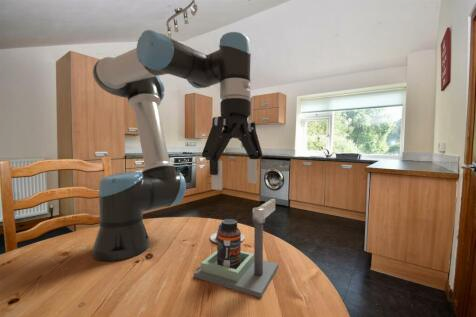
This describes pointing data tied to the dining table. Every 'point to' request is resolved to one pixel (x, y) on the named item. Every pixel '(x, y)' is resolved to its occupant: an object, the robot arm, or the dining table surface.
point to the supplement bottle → (229, 244)
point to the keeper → (263, 211)
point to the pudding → (217, 235)
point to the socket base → (241, 269)
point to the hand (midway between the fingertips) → (236, 186)
